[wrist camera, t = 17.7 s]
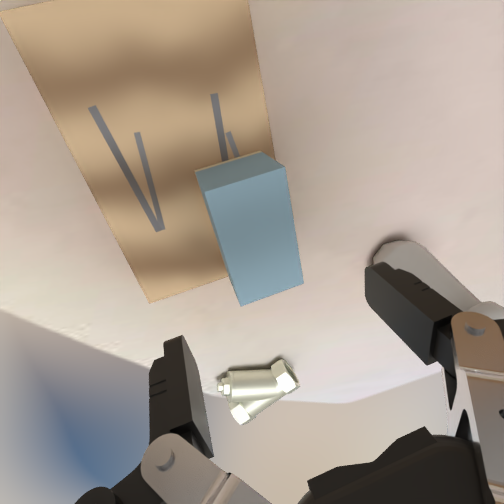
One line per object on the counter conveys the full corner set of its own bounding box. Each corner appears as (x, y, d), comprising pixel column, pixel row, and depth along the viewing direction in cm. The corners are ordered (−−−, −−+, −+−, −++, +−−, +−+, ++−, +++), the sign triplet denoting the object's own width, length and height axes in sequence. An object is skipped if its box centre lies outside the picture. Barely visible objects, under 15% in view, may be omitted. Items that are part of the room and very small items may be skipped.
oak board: (12, 18, 17) (-3, 12, 16) (233, -29, 19) (241, -40, 17) (149, 290, 28) (149, 303, 26) (283, 244, 30) (291, 254, 28)
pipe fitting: (208, 376, 36) (241, 403, 39) (212, 405, 33) (248, 431, 36) (263, 337, 36) (292, 367, 39) (273, 362, 32) (304, 392, 35)
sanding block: (194, 170, 22) (204, 192, 18) (260, 150, 23) (284, 166, 18) (226, 270, 27) (240, 306, 23) (280, 251, 27) (303, 283, 23)
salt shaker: (355, 268, 34) (453, 360, 23) (389, 224, 32) (512, 300, 21) (388, 285, 36) (490, 373, 25) (420, 245, 35) (544, 321, 24)
